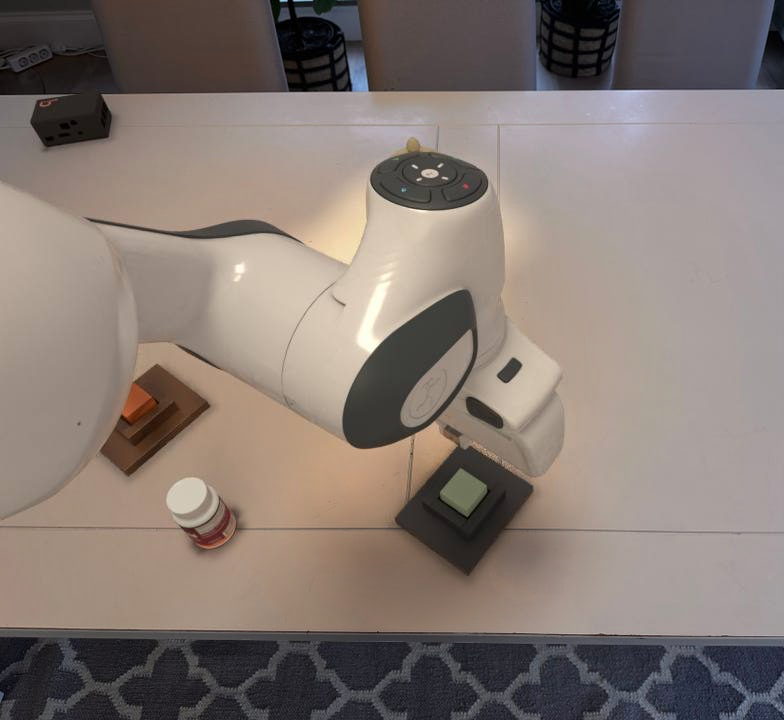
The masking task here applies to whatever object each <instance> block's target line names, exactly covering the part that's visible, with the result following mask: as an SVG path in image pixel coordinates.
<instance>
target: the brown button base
mask: <svg viewBox="0 0 784 720" xmlns="http://www.w3.org/2000/svg"><path fill="white" fill-rule="evenodd" d="M133 383H135V384H136V385H138V386H139V387H140V388H141V389H143V390H144V391H145V392H147V393H148V394H149V395H150V396H152V398H153V399H154V400H155V402H156V403H157V405H156V406H155V407H154V408H153V409H152V410H150V411H149V412H148V413H147V414H145V415H144V416H143V417H142V418H141V419H139V420H138V421H137V422H136V423H135V424H133V425H132V424H130V423H129V422H128V421H127V420H126V419H124V418H123V417H122V416H120V418H119V420H118V422H117V424H116V426H115V428H114V430H113V431H112V433H111V435H110V436H109V438H108V439H107V440H106V442H105V443H104V445H103V446H102V448H101V449H100V451H99V452H100V453H102V454H103V455H104V456H105V457H106V458H107V459H108V460H110V461H111V462H112V463H113V464H114V465H115V466H117V468H119V470H122V472H123V473H124V474H125V475H127V476H128V477H130V476H131V475H132V474H133V473H134V472H135V471H137V469H138V468H139V469H140V467H141V466H142V465H144V464H145V463H146V462H147V461H148V460H149V459H151V458H152V457H153V456H154V455H155V454H156V453H157V452H159V451H160V450H161V449H162V448H163V447H164V446H166V445H167V444H168V443H170V441H171V440H172V439H174V438H175V437H176V436H177V435H178V434H179V433H181V432H182V431H183V430H184V429H186V428H187V426H189V425H190V424H191V423H192V422H194V421H195V420H196V419H197V418H198V417H199V416H201V415H202V414H203V413H204V412H205V411H206V410H208V408H209V407H211V405H210V403H209V402H208V401H207V399H205V398H204V397H203V396H201V395H200V394H198V393H197V392H196V391H194V390H193V389H192V388H191V387H190V386H188V385H187V384H186V383H184V382H182V381H181V380H180V379H178V378H177V377H176V376H174V375H173V374H172V373H171V372H169V371H168V370H167V369H165V368H164V367H163V366H161V365H160V364H159V363H155V364H154V365H153V366H151V367H150V368H149V369H147V371H145V372H144V373H143V374H141V375H140V376H139V377H137V378H136V379H134V380H133Z"/></svg>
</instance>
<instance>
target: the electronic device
mask: <svg viewBox="0 0 784 720" xmlns="http://www.w3.org/2000/svg"><path fill="white" fill-rule="evenodd" d="M111 119H112V113H111V110H110V108H109V106H108V105H107V102H106V101H105V98H104V97H103V95H102V92H101V91H100V90H95V91H88V92H82V93H75V94H68V95H67V94H66V95H62V96H61V95H60V96H55V97H54V96H53V97H47V98H41V99H40V98H39V99H37V100H36V101H35V104H34V107H33V111H32V114H31V117H30V121H29V123H30V125H31V127H32V128H33V130H34V132H35V133H36V135H37V136H38V138H39V140H40V141H41V143H42V144H43V146H44V147H49V146H54V145H60V144H61V145H62V144H67V143H68V144H69V143H74V142H80V141H86V140H87V141H88V140H94V139H101V138H105V137H106V138H107V137H108V136H109V132H110V131H109V130H110V124H111Z"/></svg>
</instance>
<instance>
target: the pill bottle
mask: <svg viewBox="0 0 784 720" xmlns="http://www.w3.org/2000/svg"><path fill="white" fill-rule="evenodd" d="M165 502H166V507H167V508H168V510H169V511H170V513H171V517H172V519H173V521H174V522H175V524H177V526H178V527H180V529H182V530H183V532H184V533H185V534H186V535H187V536H188V537H189V538H190V539H191V541H193V542H194V544H196V545H197V546H198V547H200V548H203V549H215V548H218V547H221V546H222V545H224V544H225V543H226V542H228V541H229V540H230V539H231V537H232V536H233V534H234V532H235V530H236V526H237V522H236V521H237V520H236V517H235V515H234V513H233V512H232V511H231V509H230V508H229V507H228V505H227V504H226V502H225V501H224V499H223V498H222V497H221V495H219V493H218V492H217V491H216V489H214V488H213V487H212V486H210V485H208V484H206V483H205V482H204V481H203V480H202V479H201V478H198V477H194V476H190V477H184V478H182V479H180V480H178V481H176V482H175V483H174V484H173V485H172V486H171V487H170V489H168V492H167V494H166V497H165Z"/></svg>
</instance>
